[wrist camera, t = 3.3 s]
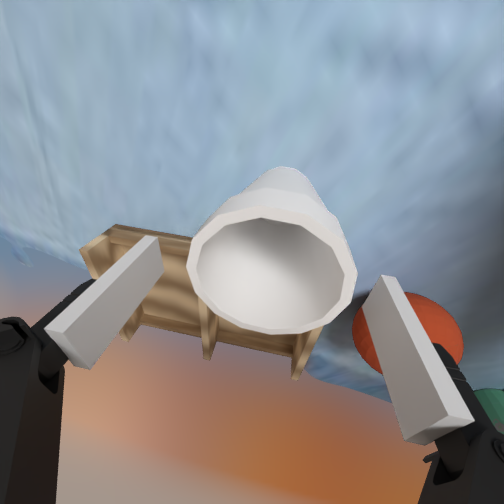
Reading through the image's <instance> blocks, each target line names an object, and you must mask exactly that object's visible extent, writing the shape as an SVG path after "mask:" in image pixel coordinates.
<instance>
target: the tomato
mask: <svg viewBox="0 0 504 504" xmlns="http://www.w3.org/2000/svg"><path fill="white" fill-rule="evenodd" d="M404 294H405V296H406V297H407V299H408V301H409V303H410V305H411V306H412V308H413V310H414V312H415V314H416V316H417V317H418V319H419V321H420V323H421V325H422V326H423V328H424V330H425V332H426V334H427V335H428V337H429V339H430V341H431V342H433V343H438V344H441V345H442V346H443V347H444V348H445V349H446V350H447V352H448V353H449V354H450V355H451V356H452V357H453V359H454V360H455V362H456V364H457V365H458V363H459V362H460V360H461V359H462V355H463V348H464V344H463V339H462V333H461V331H460V329H459V327H458V325H457V323H456V322H455V320H454V318H453V317H452V316H451V315H450V314H449V313H448V312H447V311H446V310H445V309H444V308H443V307H441V306H440V305H438V304H437V303H436V302H434V301H432V300H430V299H428V298H426V297H423V296H421V295H417V294H414V293H408V292H404ZM362 306H363V305H362ZM362 306H361V307H360V308H359V310H358V311H357V313H356V315H355V317H354V320H353V326H352V334H353V340H354V343H355V346H356V348H357V350H358V352H359V353H360V355H361V356H362V358H363V359H364V360H365V361H366V362H367V363H368V364H369V365H370V366H371V367H372V368H373V369H375V370H376V371H378V372H379V373H381V374H383V372H382V369H381V366H380V363H379V360H378V357H377V353H376V350H375V347H374V344H373V341H372V338H371V334H370V331H369V328H368V325H367V322H366V318H365V315H364V312H363V309H362ZM382 376H383V375H382Z"/></svg>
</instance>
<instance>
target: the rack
mask: <svg viewBox="0 0 504 504" xmlns="http://www.w3.org/2000/svg"><path fill="white" fill-rule="evenodd" d="M145 235H148V236H154V237H158V242H159V247H160V251H161V256H162V261H163V266H164V273H163V274H162V275H161V277H160V278H159V279H158V281H157V282H156V283H155V285H154V286H153V287H152V289H151V290H150V291H149V293H148V294H147V295H146V297H145V298H144V299H143V300H142V302H141V303H140V304H139V306H138V307H137V308H136V310H135V311H134V312H133V314H132V315H131V316H130V318H129V319H128V320H127V322H126V323H125V324H124V326H123V327H122V328H121V330H120V331H119V334H120V336H121V338H122V340H123V341H127V342H129V340H130V339H131V337H132V336H133V335H134V333H135V332H136V330H137V329H138V327H139V326H140V325H146V326H150V327H155V328H159V329H164V330H168V331H173V332H178V333H182V334H187V335H192V336H196V337H200V338H202V346H203V357H204V359H206V360H210V359H211V356H212V353H213V350H214V347H215V344H216V341H219V342H223V343H228V344H232V345H237V346H241V347H246V348H250V349H255V350H259V351H264V352H269V353H273V354H277V355H282V356H287V357H291V358H292V364H291V379H293V380H298V379H299V377H300V375H301V373H302V371H303V368H304V366H305V364H306V362H307V360H308V358H309V356H310V354H311V351H312V349H313V347H314V345H315V343H316V341H317V339H318V337H319V335H320V332H321V330H322V328H323V326H324V325H323V326H320V327H318V328H315V329H312V330H309V331H307V332H304V333H300V334H274V335H270V334H265V333H261V332H257V331H253V330H248V329H244V328H240V327H238V326H237V325H235V324H233V323H231V322H229V321H228V320H226V319H224V318H222V317H220V316H218V315H217V314H215V313H214V312H213V311H212V310H211V309H210V308H209V307H208V306H207V305H206V304H205V303H204V302H203V301H202V299H201V298H200V297H199V296H198V295H197V294H196V293H195V291H194V288H193V285H192V282H191V280H190V277H189V274H188V271H187V268H186V264H187V260H188V255H189V251H190V246H191V242H192V237H186V236H180V235H175V234H169V233H163V232H158V231H152V230H146V229H140V228H135V227H129V226H123V225H118V224H115V225H114V226H112V227H111V228H110V229H108V230H107V231H105V232H104V233H102V234H101V235H99V236H98V237H97V238H95V239H94V240H92V241H91V242H89V243H88V244H86V245H85V246H84V247H82V248H81V249H79V251H80V253H81V255H82V257H83V259H84V261H85V264H86V266H87V268H88V270H89V272H90V273H91V276H92V278H93V279H98V278H100V277H101V276H102V275H103V274H104V273H105V272H106V271H107V270H108V269H109V268H110V267H112V266H113V265H114V264H115V263H116V262H117V261H118V260H119V259H120V258H121V257H122V256H124V255H125V254H126V253H127V252H128V251H129V250H130V249H131V248H132V247H133V246H134V245H135V244H137V243H138V242H139V241H140V240H141V239H142V238H143V237H144V236H145Z"/></svg>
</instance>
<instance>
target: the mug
mask: <svg viewBox="0 0 504 504" xmlns="http://www.w3.org/2000/svg"><path fill="white" fill-rule="evenodd" d="M474 394H475V395H476V397H477V399H478V400H479V402H480V404H481V405H482V407H483V409H484V410H485V412H486V413H487V415H488V417H489V418H490V420H491V422H492V423H493V425H494V426H495V428H496V429H497V431H498V432H500V433H502V434H504V391H502V390H498V389H481V390H477V391H474Z"/></svg>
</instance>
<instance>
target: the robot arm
mask: <svg viewBox="0 0 504 504" xmlns="http://www.w3.org/2000/svg"><path fill="white" fill-rule="evenodd" d="M163 273H164V266H163V261H162V256H161V251H160V247H159V242H158V237H154V236H148V235H145V236H144V237H143V238H142V239H141V240H140V241H139V242H138V243H137V244H135V245H134V246H133V247H132V248H131V249H130V250H129V251H128V252H127V253H126V254H125V255H124V256H122V257H121V258H120V259H119V260H118V261H117V262H116V263H115V264H114V265H113V266H112V267H110V268H109V269H108V270H107V271H106V272H105V273H104V274H103V275H102V276H101V277H100V278H98V279H90V280H89V281H87V282H85V283H83V284H81V285H80V286H78V287H77V288H76V289H75V290H74V291H73V292H71V294H70V295H68V296H67V297H66V298H65V299H64V300H63V301H62V302H60V303H59V304H58V305H57V306H55V307H54V308H53V309H52V310H51V311H50V312H48V313H47V314H46V315H45V316H44V317H43V318H42V319H40V320H39V321H38V322H37V323H36V324H35V325H34V326H32V327H31V328H30V327H29V326H28V325H27V324H26V322H25V321H24V320H23V319H21V318H20V317H8V318H3V319H0V504H56V491H57V476H58V462H59V446H60V432H61V419H62V418H61V417H62V404H63V390H64V376H65V369H64V366H63V365H64V364H65V363H66V362H67V360H68V359H69V360H70V361H71V363H72V364H73V365H74V366H76V367H81V368H85V369H89V370H90V369H91V368H92V367H93V365H94V364H95V363H96V361H97V360H98V358H99V357H100V356H101V355H102V353H103V352H104V351H105V350H106V348H107V347H108V345H109V344H110V343H111V341H112V340H113V339H114V337H115V336H116V335H117V333H118V332H119V331H120V330H121V328H122V327H123V326H124V324H125V323H126V322H127V320H128V319H129V318H130V316H131V315H132V314H133V312H134V311H135V310H136V308H137V307H138V306H139V304H140V303H141V302H142V300H143V299H144V298H145V297H146V295H147V294H148V293H149V291H150V290H151V289H152V287H153V286H154V285H155V283H156V282H157V281H158V279H159V278H160V277H161V275H162V274H163ZM362 309H363V312H364V315H365V318H366V322H367V325H368V328H369V331H370V334H371V338H372V341H373V344H374V347H375V350H376V353H377V357H378V360H379V363H380V366H381V369H382V372H383V376H384V379H385V382H386V385H387V388H388V391H389V395H390V398H391V401H392V404H393V407H394V410H395V413H396V417H397V420H398V423H399V426H400V429H401V433H402V436H403V439H404V441H407V442H412V443H416V444H420V445H427V444H429V443H431V442H433V441H435V444H436V446H437V448H438V451H437V452H434V453H432V454H430V455H427V456H425V458H424V459H423V461H424V462H425V463H427V462H430V461H432V463H431V466H430V469H429V472H428V475H427V478H426V481H425V484H424V486H423V489H422V492H421V495H420V498H419V501H418V504H504V434H502V433H500V432H498V431H497V429H496V428H495V426H494V425H493V423H492V422H491V420H490V418H489V417H488V415H487V413H486V412H485V410H484V409H483V407H482V405H481V404H480V402H479V400H478V399H477V397H476V395H475V394H474V392H473V390H472V389H471V387H470V385H469V384H468V383H467V382H466V379H465V377H464V375H463V374H462V372H461V371H459V367H458V365H457V364H456V362H455V360H454V359H453V357H452V356H451V355H450V354H449V353H448V352H447V350H446V349H445V348H444V347H443V346H442V345H441V344H438V343H433V342H431V341H430V339H429V337H428V335H427V334H426V332H425V330H424V328H423V326H422V325H421V323H420V321H419V319H418V317H417V316H416V314H415V312H414V310H413V308H412V306H411V305H410V303H409V301H408V299H407V297H406V296H405V294H404V292H403V290H402V288H401V287H400V285H399V283H398V281H397V279H396V278H395V277H391V276H386V275H381V276H380V277H379V279H378V281H377V282H376V284H375V286H374V287H373V289H372V291H371V292H370V294H369V296H368V298H367V299H366V301H365V303H364V304H363V306H362Z"/></svg>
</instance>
